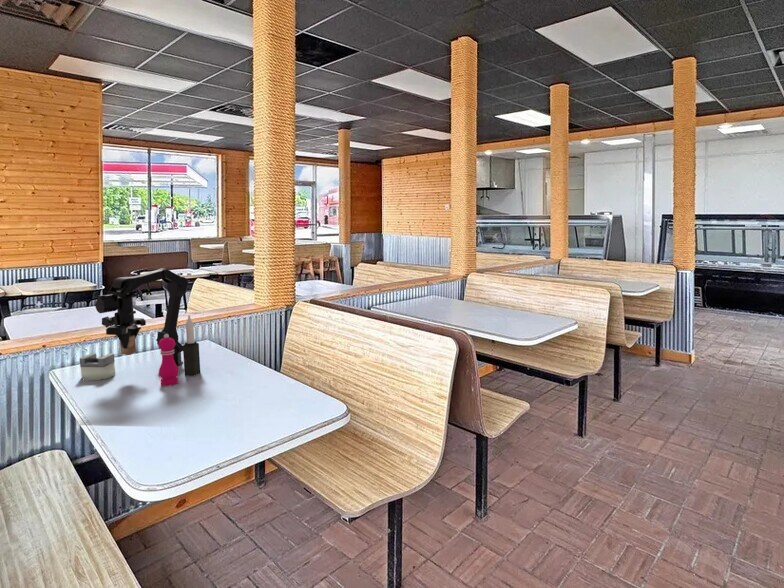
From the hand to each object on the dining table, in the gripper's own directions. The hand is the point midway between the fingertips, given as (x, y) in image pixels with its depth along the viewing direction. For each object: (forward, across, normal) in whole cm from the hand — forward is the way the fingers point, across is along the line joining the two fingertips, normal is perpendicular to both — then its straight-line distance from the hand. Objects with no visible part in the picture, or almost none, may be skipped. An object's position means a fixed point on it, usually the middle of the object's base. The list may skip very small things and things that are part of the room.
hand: (128, 347), depth 203 cm
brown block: (+3, 0, 0) cm, 3 cm away
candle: (+13, -6, +23) cm, 27 cm away
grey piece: (+13, -1, -14) cm, 19 cm away
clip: (+8, -1, -14) cm, 16 cm away
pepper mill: (+13, +6, +19) cm, 24 cm away
